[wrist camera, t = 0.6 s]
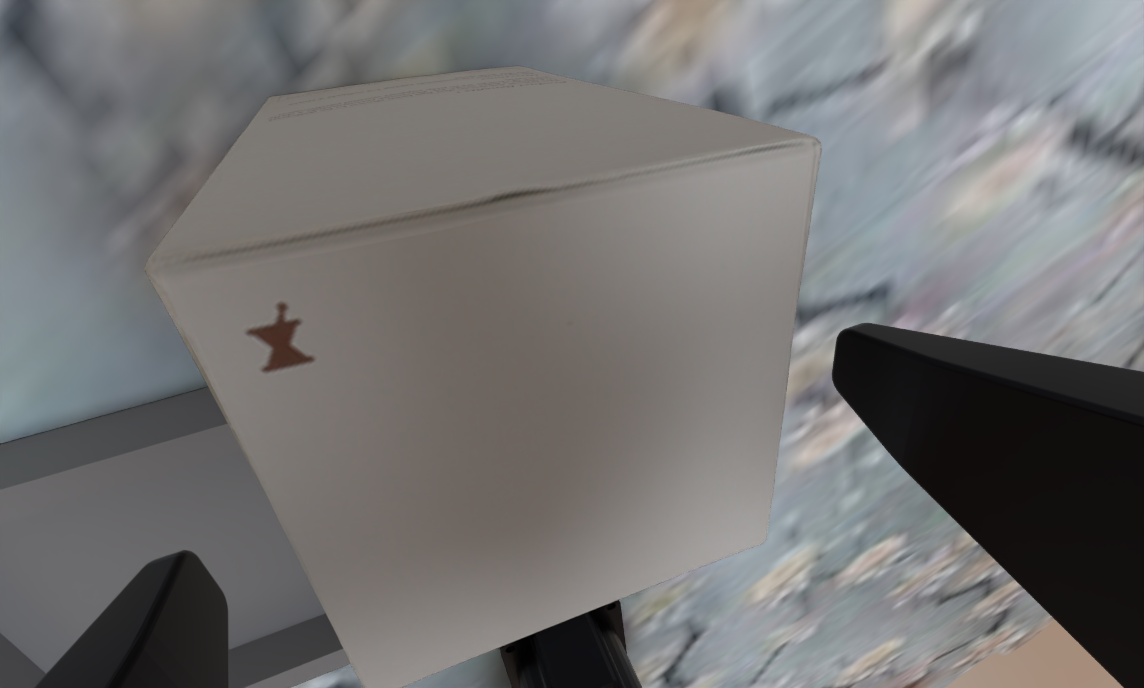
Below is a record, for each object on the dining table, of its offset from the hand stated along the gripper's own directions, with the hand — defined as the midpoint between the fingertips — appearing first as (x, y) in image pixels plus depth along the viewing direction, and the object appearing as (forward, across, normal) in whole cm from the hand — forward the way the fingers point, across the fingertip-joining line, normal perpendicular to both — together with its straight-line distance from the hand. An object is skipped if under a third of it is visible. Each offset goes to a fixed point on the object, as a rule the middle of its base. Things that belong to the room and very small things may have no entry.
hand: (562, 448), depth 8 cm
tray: (+12, +12, +10) cm, 20 cm away
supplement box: (+13, 0, 0) cm, 13 cm away
